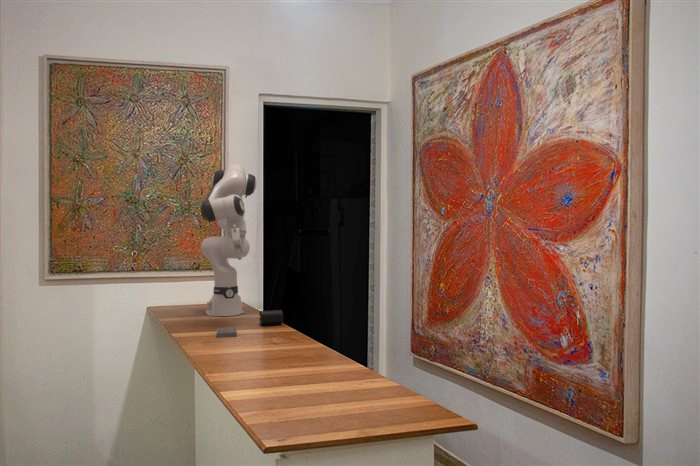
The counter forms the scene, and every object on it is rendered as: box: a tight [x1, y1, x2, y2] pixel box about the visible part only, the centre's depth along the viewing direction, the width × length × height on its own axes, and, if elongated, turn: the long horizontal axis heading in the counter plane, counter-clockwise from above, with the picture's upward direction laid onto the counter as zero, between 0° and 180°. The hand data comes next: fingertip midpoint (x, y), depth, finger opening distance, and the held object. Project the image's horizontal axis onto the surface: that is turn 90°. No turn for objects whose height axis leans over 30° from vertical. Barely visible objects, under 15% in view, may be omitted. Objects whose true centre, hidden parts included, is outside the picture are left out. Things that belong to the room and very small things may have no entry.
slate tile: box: [216, 327, 238, 339], centre depth 308 cm, size 2×8×12 cm
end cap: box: [258, 309, 284, 327], centre depth 332 cm, size 10×7×7 cm
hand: (239, 258), depth 330 cm, fingers closed
